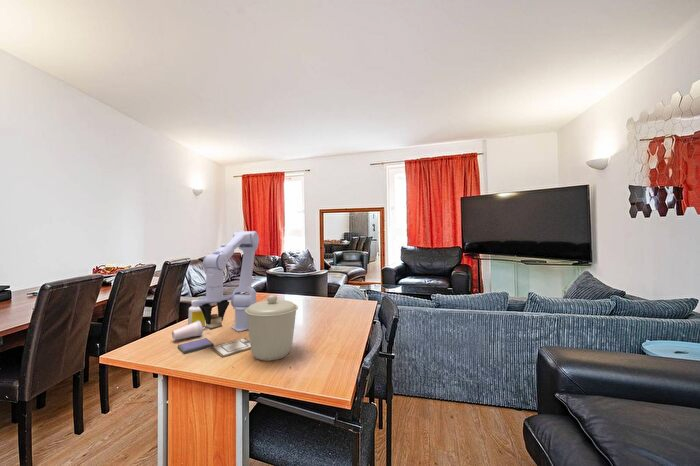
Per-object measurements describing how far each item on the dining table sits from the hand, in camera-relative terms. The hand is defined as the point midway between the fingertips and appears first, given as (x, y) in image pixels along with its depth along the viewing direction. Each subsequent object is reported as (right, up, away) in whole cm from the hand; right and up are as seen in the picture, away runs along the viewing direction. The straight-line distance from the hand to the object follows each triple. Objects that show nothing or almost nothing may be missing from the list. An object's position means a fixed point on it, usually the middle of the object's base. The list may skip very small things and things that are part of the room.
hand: (214, 322), depth 103 cm
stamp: (0, -2, 0) cm, 2 cm away
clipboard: (+8, -9, 0) cm, 12 cm away
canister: (+23, -10, -6) cm, 26 cm away
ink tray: (-7, -9, 0) cm, 12 cm away
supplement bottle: (-17, -10, +19) cm, 27 cm away
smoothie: (-18, -7, +4) cm, 20 cm away
